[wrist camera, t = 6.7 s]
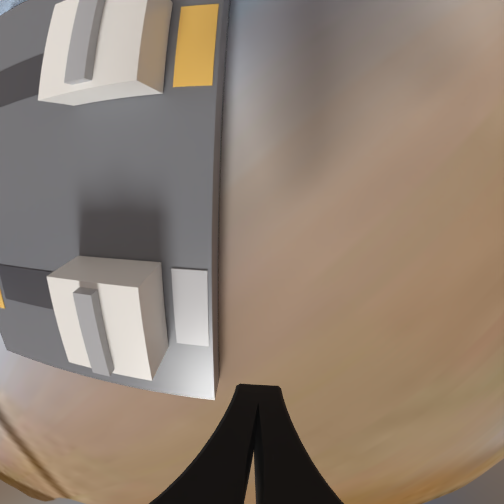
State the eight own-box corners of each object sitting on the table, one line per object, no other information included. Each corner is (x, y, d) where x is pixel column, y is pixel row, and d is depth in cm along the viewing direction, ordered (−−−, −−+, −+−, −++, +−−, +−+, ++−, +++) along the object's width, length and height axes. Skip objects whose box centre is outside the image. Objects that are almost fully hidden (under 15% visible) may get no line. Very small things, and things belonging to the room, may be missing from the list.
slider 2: (92, 333, 16) (63, 368, 13) (78, 255, 15) (39, 281, 11) (168, 346, 16) (148, 388, 13) (161, 262, 14) (132, 294, 11)
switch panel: (19, 338, 20) (6, 350, 18) (4, 27, 12) (-13, 22, 10) (219, 379, 19) (214, 400, 17) (233, -36, 11) (229, -55, 9)
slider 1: (74, 105, 12) (29, 99, 9) (85, 21, 11) (48, 0, 7) (162, 93, 12) (129, 76, 9) (172, 3, 10) (147, -32, 7)
